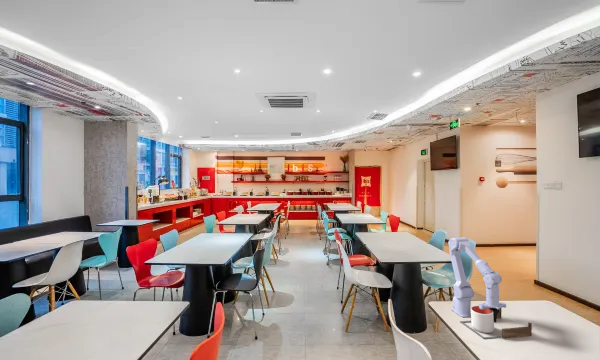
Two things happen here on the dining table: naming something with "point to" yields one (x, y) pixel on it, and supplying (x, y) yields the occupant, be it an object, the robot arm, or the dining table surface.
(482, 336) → the bracket
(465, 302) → the robot arm
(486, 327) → the cup
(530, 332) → the wooden pieces
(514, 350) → the dining table surface
